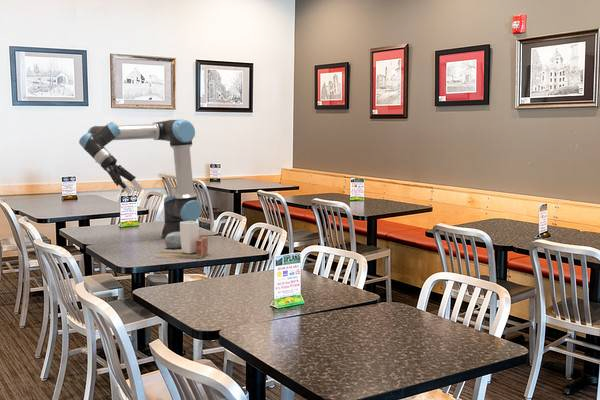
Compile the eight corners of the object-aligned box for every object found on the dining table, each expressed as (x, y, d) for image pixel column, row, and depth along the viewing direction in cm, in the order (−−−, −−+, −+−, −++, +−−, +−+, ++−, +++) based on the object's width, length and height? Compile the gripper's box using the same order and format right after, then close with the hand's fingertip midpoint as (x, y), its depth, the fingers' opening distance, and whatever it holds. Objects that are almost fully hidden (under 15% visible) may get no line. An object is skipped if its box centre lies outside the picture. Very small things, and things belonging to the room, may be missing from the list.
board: (163, 252, 317) (163, 235, 316) (207, 253, 314) (207, 236, 313) (155, 257, 305) (154, 239, 304) (200, 258, 302) (200, 241, 301)
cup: (200, 253, 309) (200, 222, 308) (188, 255, 304) (187, 223, 302) (191, 251, 314) (190, 220, 312) (178, 253, 309) (178, 222, 307)
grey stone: (190, 238, 339) (187, 223, 333) (195, 249, 332) (192, 234, 326) (164, 246, 335) (161, 231, 329) (169, 257, 328) (166, 242, 322)
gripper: (111, 164, 328) (140, 194, 327) (89, 166, 303) (120, 199, 303) (121, 153, 326) (150, 183, 326) (99, 155, 302) (131, 188, 302)
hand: (136, 191), depth 314 cm, fingers open, 13 cm apart
